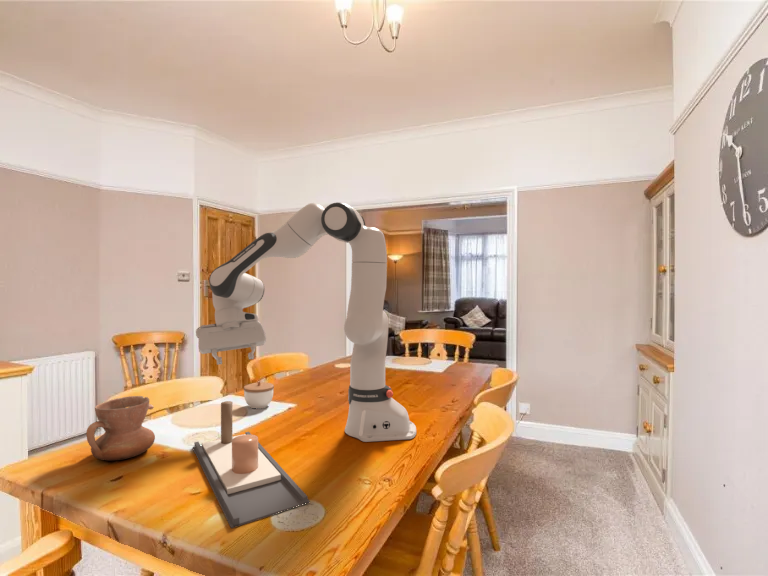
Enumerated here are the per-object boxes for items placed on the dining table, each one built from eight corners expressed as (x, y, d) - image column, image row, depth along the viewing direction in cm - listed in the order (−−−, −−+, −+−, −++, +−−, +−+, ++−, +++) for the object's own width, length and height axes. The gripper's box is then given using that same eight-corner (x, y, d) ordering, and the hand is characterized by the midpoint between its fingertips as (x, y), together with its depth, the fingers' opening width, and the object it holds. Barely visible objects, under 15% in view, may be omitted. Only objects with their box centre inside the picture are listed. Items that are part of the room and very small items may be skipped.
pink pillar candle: (261, 462, 101) (261, 434, 101) (253, 473, 95) (253, 444, 95) (237, 462, 101) (236, 434, 101) (228, 473, 95) (227, 444, 95)
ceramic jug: (135, 438, 120) (134, 390, 120) (171, 445, 115) (169, 396, 114) (69, 464, 104) (66, 409, 103) (106, 475, 98) (104, 417, 98)
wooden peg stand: (201, 447, 113) (201, 403, 113) (245, 438, 119) (245, 396, 119) (227, 494, 88) (227, 438, 88) (280, 479, 95) (281, 427, 94)
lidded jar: (237, 408, 149) (237, 383, 148) (256, 400, 158) (256, 377, 158) (261, 412, 145) (261, 386, 144) (279, 404, 154) (279, 379, 154)
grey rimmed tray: (192, 448, 113) (192, 442, 113) (250, 436, 122) (250, 431, 122) (231, 528, 77) (231, 520, 77) (309, 503, 86) (309, 495, 86)
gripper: (194, 321, 126) (199, 362, 119) (262, 314, 134) (269, 351, 128) (195, 330, 130) (199, 370, 124) (260, 322, 139) (267, 359, 133)
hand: (235, 361), depth 126 cm, fingers open, 8 cm apart
